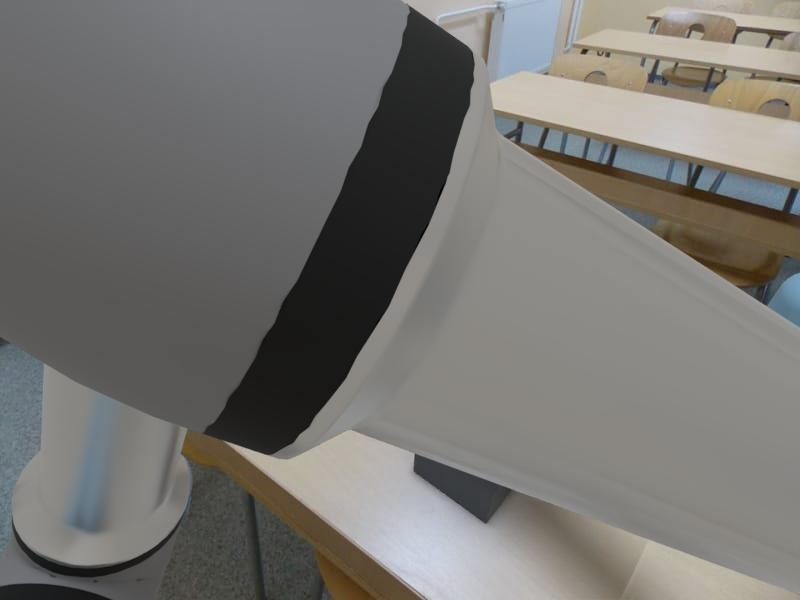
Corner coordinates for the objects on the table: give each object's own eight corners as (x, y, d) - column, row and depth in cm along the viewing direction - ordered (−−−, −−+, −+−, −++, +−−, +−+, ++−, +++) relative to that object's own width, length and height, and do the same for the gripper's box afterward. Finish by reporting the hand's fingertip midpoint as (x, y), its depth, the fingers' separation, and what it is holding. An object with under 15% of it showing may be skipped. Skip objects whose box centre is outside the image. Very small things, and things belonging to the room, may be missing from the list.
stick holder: (486, 523, 60) (493, 493, 56) (413, 471, 65) (415, 440, 61) (531, 464, 66) (540, 433, 63) (461, 420, 72) (466, 390, 68)
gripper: (562, 454, 43) (401, 310, 58) (667, 383, 50) (499, 271, 66) (584, 391, 39) (403, 253, 54) (695, 323, 46) (508, 218, 61)
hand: (456, 263), depth 60 cm, fingers closed on stirring stick, 2 cm apart
